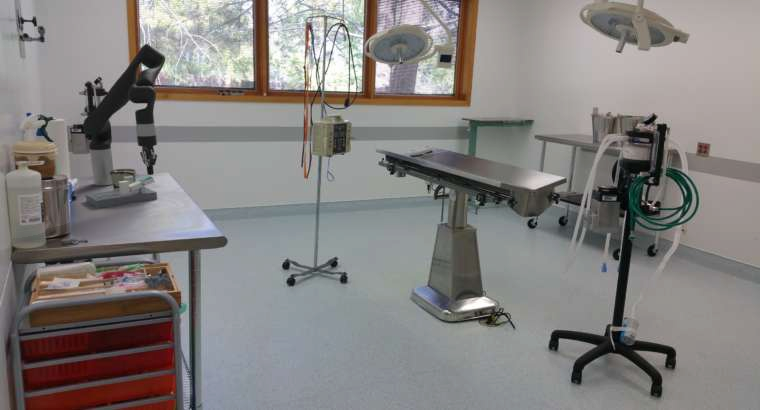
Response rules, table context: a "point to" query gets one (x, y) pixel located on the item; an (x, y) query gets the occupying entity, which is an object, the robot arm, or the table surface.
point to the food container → (121, 176)
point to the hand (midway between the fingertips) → (150, 174)
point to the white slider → (124, 187)
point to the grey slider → (129, 179)
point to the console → (120, 197)
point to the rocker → (141, 183)
